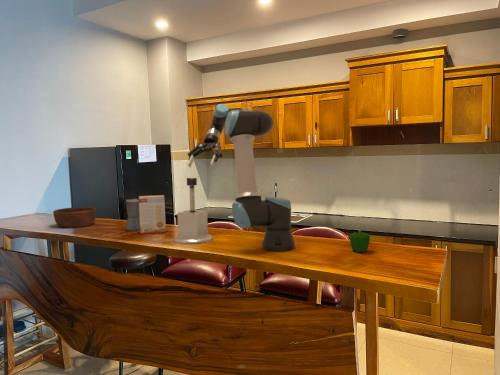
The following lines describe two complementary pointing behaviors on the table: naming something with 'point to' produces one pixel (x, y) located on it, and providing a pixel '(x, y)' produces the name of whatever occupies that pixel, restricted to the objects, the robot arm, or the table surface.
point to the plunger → (192, 192)
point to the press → (192, 228)
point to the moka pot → (132, 214)
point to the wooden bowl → (75, 217)
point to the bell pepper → (359, 241)
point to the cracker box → (152, 214)
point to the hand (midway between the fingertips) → (200, 165)
